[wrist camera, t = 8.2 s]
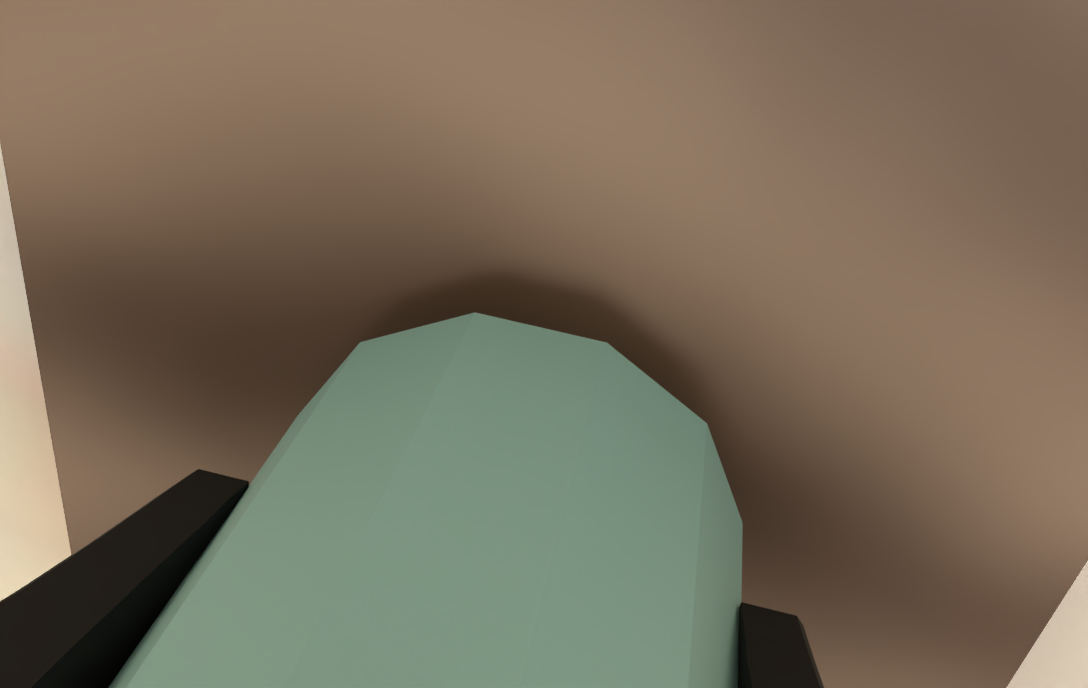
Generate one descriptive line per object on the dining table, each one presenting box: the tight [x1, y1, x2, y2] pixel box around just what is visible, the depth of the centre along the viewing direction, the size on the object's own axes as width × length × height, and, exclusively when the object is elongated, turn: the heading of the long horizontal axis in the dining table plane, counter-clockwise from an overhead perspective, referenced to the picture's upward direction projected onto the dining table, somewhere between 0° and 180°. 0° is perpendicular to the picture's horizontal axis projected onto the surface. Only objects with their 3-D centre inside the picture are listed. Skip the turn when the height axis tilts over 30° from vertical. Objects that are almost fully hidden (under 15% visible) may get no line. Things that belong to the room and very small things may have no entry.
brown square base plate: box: [0, 0, 1088, 688], centre depth 11 cm, size 15×15×6 cm
